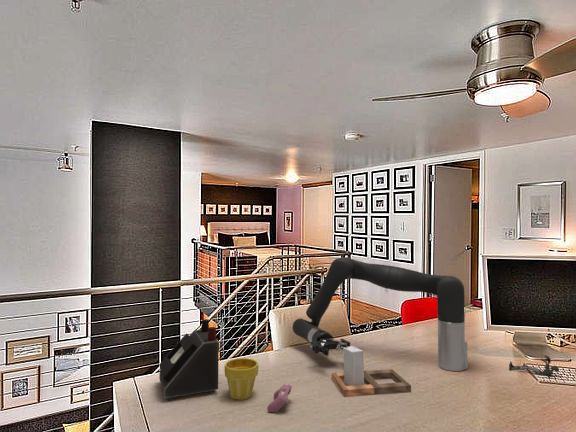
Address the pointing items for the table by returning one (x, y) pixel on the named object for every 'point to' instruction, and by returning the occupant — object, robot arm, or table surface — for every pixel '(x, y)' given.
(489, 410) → the table surface
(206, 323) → the voltmeter
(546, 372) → the zombie figurine
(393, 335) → the table surface
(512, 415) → the table surface
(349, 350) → the skincare box
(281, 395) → the video game controller
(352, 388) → the brown flat frame
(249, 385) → the plant pot
